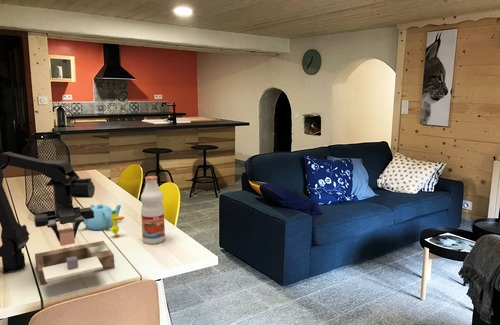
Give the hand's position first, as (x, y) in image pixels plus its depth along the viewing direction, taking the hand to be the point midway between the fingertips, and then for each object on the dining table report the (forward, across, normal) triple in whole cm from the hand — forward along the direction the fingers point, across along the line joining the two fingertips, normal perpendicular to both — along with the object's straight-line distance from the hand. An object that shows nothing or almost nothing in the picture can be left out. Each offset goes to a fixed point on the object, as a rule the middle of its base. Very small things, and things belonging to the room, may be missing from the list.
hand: (66, 239), depth 139 cm
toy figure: (+11, +23, +23) cm, 35 cm away
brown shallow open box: (+11, +2, 0) cm, 11 cm away
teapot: (+11, +20, +41) cm, 47 cm away
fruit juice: (+11, +35, +10) cm, 38 cm away
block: (+1, 0, 0) cm, 1 cm away
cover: (+6, 0, -13) cm, 15 cm away
